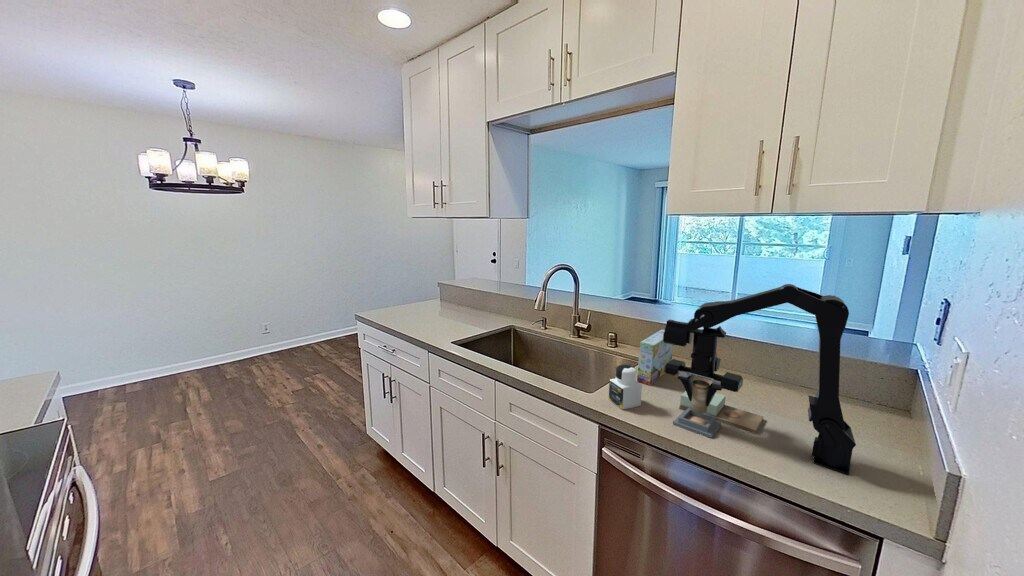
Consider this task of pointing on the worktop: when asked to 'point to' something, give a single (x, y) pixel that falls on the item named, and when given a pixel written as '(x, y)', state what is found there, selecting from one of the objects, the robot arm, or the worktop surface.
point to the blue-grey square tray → (697, 422)
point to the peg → (699, 396)
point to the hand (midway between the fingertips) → (699, 403)
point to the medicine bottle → (625, 388)
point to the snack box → (653, 358)
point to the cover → (713, 407)
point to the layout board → (737, 418)
